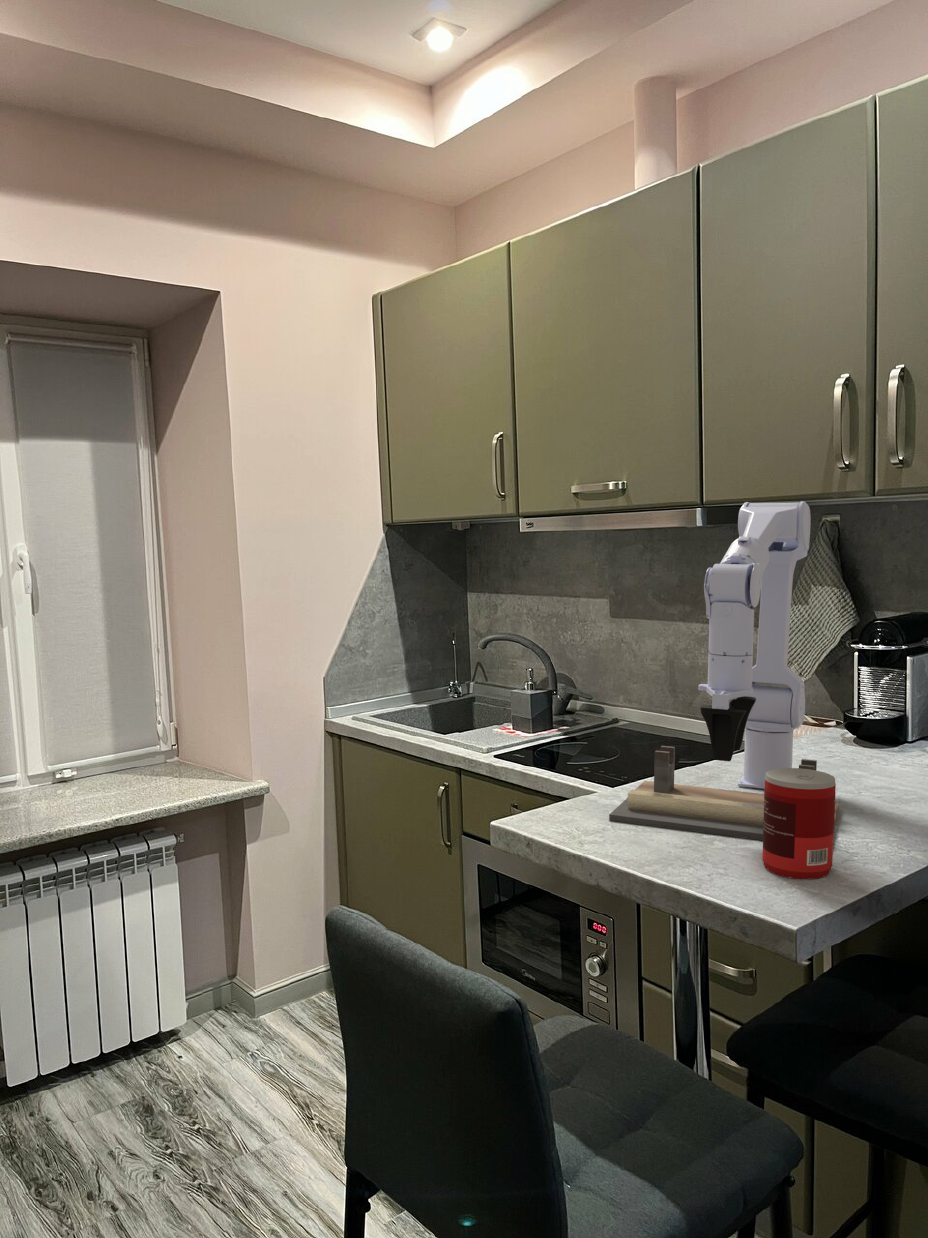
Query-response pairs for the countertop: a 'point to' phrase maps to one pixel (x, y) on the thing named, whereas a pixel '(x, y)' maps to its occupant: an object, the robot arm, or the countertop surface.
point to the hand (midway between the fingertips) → (727, 754)
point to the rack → (666, 785)
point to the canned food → (798, 822)
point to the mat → (686, 822)
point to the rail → (696, 807)
